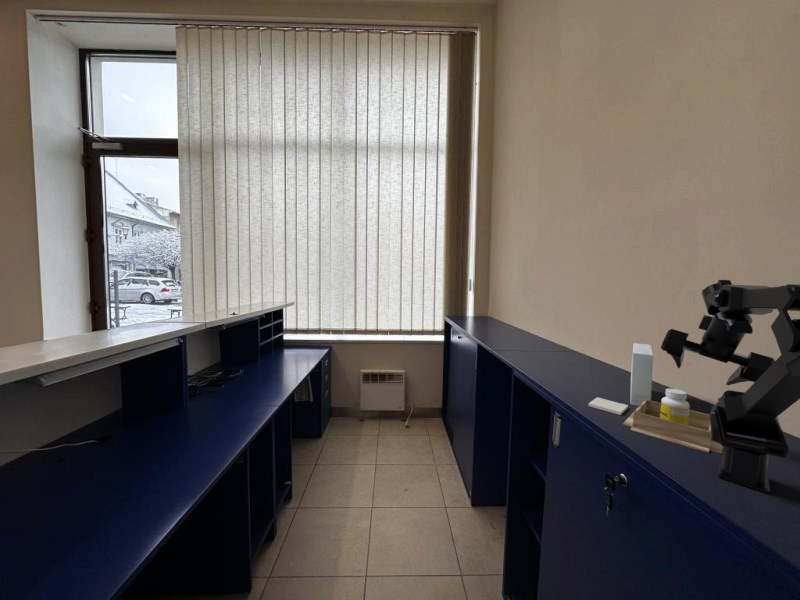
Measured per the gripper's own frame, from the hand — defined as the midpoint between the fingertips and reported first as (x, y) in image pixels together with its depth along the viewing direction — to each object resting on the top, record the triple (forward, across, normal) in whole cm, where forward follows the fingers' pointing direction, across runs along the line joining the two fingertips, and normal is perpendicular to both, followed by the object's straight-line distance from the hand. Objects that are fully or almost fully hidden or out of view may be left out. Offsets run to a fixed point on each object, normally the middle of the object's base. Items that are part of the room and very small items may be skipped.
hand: (702, 375), depth 81 cm
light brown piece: (+8, +1, +13) cm, 15 cm away
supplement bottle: (+9, +1, +13) cm, 16 cm away
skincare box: (+25, +10, -4) cm, 27 cm away
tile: (+14, +15, +11) cm, 24 cm away
